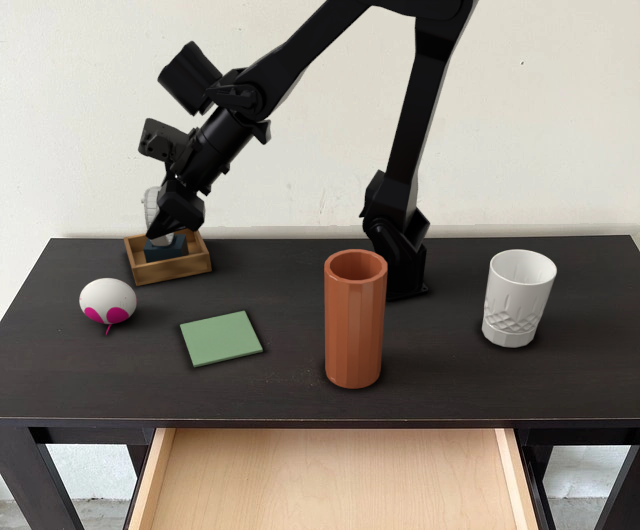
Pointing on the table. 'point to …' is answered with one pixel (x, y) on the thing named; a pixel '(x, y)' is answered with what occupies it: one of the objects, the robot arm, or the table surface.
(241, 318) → the mat
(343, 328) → the vase
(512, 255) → the white cup
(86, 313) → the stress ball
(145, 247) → the watch
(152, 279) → the wooden box
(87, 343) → the table surface
